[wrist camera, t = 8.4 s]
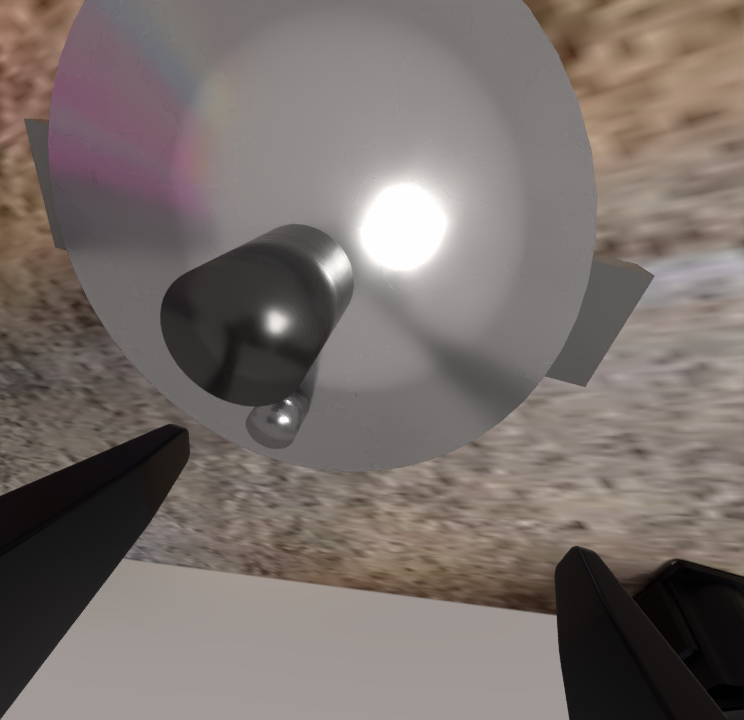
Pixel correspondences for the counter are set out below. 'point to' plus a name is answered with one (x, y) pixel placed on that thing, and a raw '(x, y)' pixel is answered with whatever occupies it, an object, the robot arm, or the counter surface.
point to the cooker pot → (586, 339)
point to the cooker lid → (326, 214)
